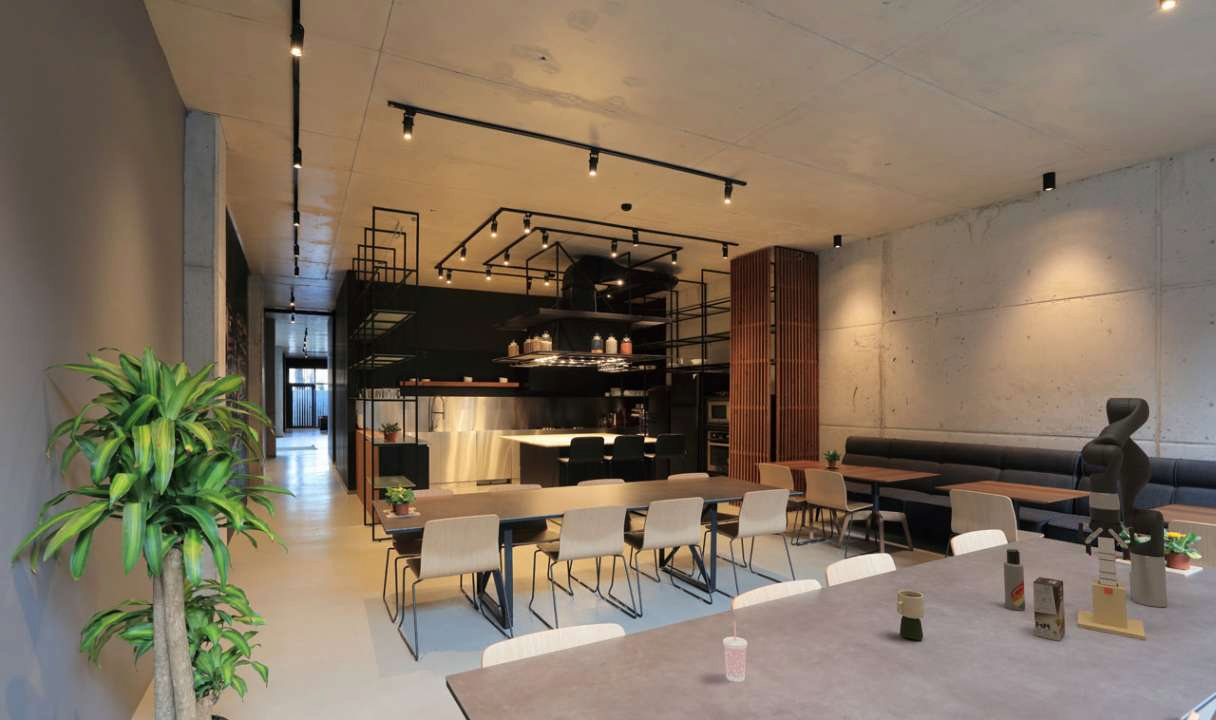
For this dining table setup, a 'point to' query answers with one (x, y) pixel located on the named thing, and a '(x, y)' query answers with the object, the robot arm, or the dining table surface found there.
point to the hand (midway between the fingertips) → (1106, 557)
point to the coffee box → (1049, 608)
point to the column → (1107, 561)
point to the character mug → (910, 613)
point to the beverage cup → (735, 657)
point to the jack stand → (1110, 612)
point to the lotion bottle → (1014, 581)
